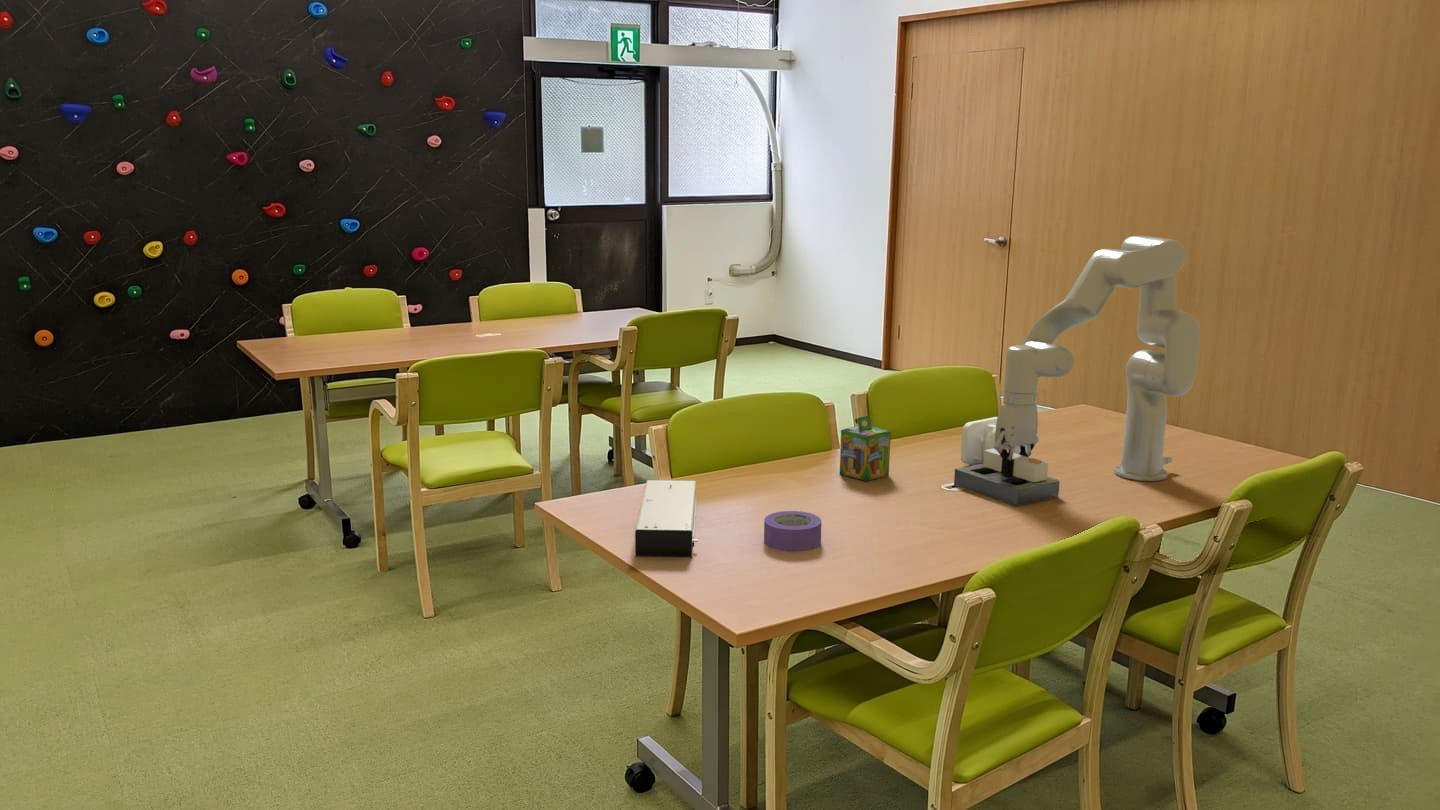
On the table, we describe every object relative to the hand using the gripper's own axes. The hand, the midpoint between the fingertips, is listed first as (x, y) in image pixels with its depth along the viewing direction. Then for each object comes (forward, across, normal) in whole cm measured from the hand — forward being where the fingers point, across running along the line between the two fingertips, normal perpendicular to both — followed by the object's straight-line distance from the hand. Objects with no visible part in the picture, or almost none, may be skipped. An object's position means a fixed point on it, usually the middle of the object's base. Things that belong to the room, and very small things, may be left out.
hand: (1014, 472), depth 274 cm
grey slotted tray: (+4, +3, 0) cm, 5 cm away
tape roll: (+5, +68, +2) cm, 68 cm away
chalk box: (+5, +23, -28) cm, 36 cm away
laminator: (+5, +85, -18) cm, 87 cm away
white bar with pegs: (+4, 0, 0) cm, 4 cm away
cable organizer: (+5, -11, -17) cm, 21 cm away
